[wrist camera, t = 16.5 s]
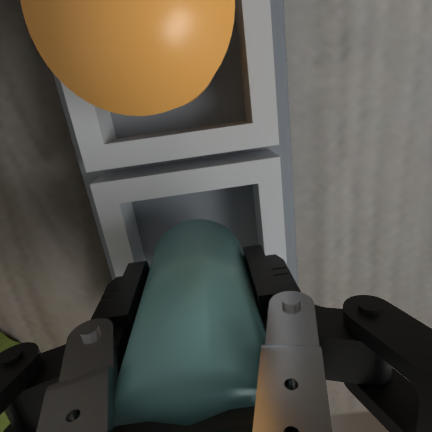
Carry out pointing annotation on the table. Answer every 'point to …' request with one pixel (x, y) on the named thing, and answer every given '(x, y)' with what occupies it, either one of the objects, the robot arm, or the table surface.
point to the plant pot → (3, 343)
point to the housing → (197, 153)
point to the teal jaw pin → (192, 332)
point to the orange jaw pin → (132, 49)
